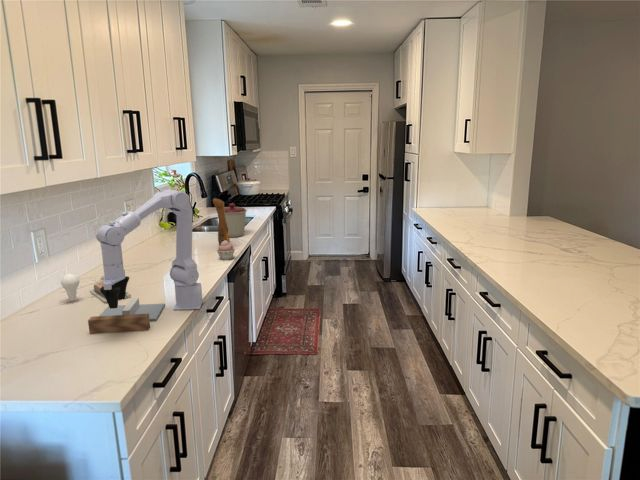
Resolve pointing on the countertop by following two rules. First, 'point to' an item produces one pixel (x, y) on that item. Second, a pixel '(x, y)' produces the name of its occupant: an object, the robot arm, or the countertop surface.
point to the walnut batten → (119, 323)
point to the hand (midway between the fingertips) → (117, 303)
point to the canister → (235, 220)
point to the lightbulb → (70, 285)
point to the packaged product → (99, 295)
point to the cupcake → (225, 251)
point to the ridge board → (136, 309)
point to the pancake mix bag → (221, 221)
